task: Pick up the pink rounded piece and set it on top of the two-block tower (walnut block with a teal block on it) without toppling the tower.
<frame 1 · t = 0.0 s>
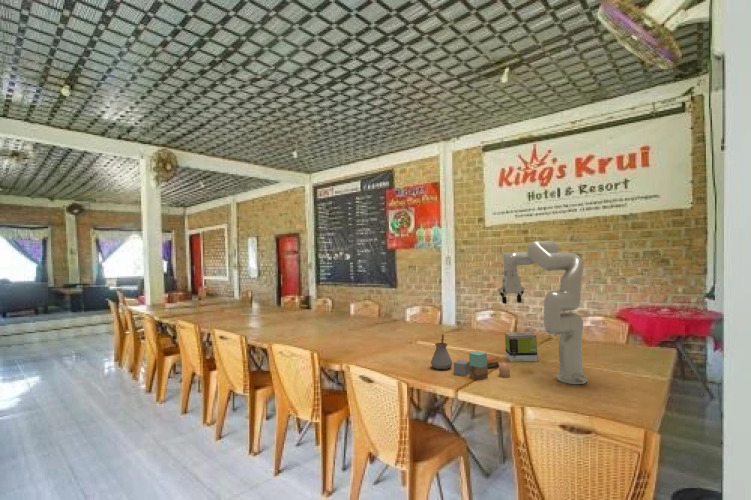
hand: (511, 302, 221), 31 cm above the table, fingers open, 9 cm apart
tower top: (478, 365, 185), point 6 cm above the table, touching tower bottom
pie: (485, 365, 206), on the table
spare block: (461, 374, 191), on the table
coffee pot: (442, 365, 207), on the table
tea box: (521, 360, 214), on the table
pink rounded piece: (504, 375, 186), on the table
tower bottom: (478, 377, 185), on the table, touching tower top
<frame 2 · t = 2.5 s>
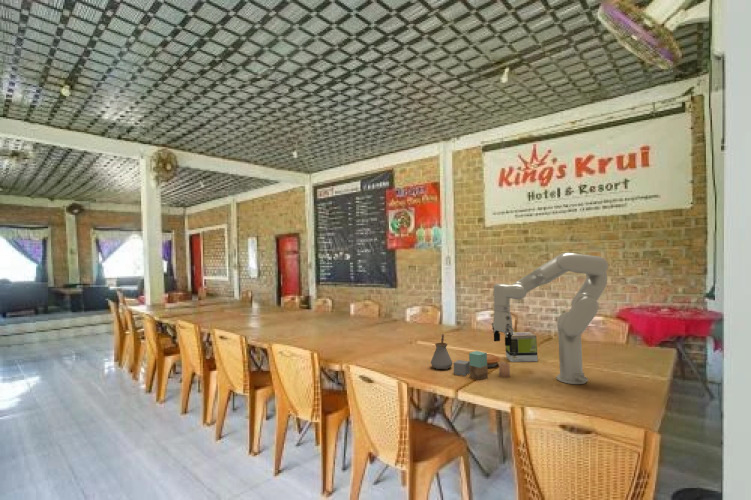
hand: (502, 343, 187), 16 cm above the table, fingers open, 9 cm apart
nothing on the table moved.
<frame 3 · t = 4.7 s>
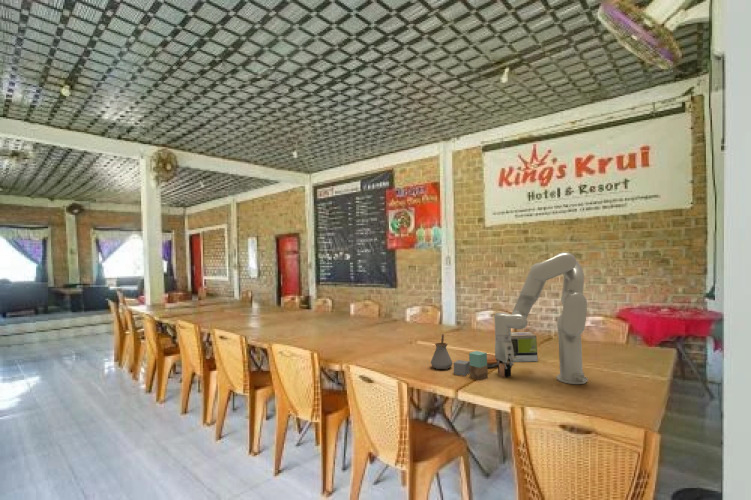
hand: (504, 374, 186), 1 cm above the table, fingers closed on pink rounded piece, 5 cm apart
pink rounded piece: (504, 375, 186), on the table, touching gripper
everything else where it was.
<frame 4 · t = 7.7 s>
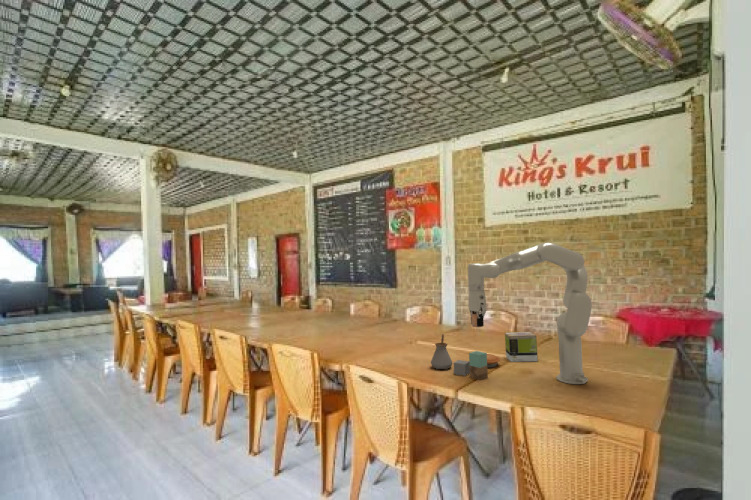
hand: (477, 324, 185), 26 cm above the table, fingers closed on pink rounded piece, 5 cm apart
pink rounded piece: (477, 326, 185), point 25 cm above the table, touching gripper
everything else where it was.
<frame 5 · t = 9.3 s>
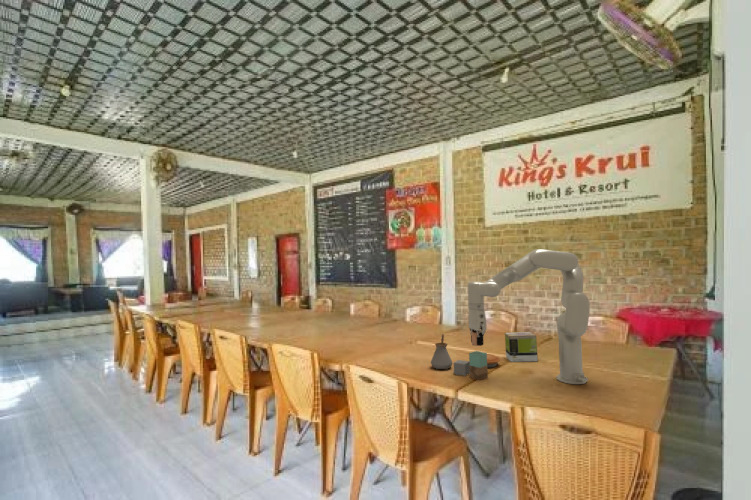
hand: (477, 343, 185), 17 cm above the table, fingers closed on pink rounded piece, 5 cm apart
pink rounded piece: (477, 344, 185), point 16 cm above the table, touching gripper
everything else where it was.
when the fingers open (14 cm above the table, at t = 10.7 s): pink rounded piece drops 1 cm, resting on tower top.
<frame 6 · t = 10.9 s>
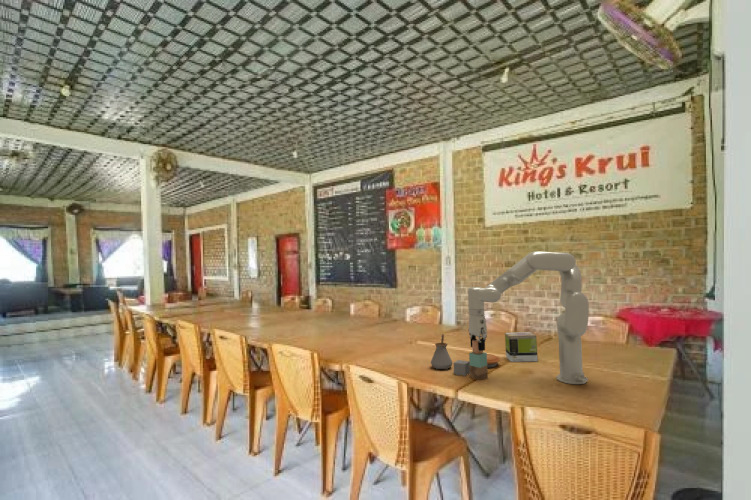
hand: (477, 348, 185), 14 cm above the table, fingers open, 7 cm apart
tower top: (478, 365, 185), point 6 cm above the table, touching pink rounded piece, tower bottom
pink rounded piece: (477, 353, 185), point 12 cm above the table, touching tower top
everything else where it was.
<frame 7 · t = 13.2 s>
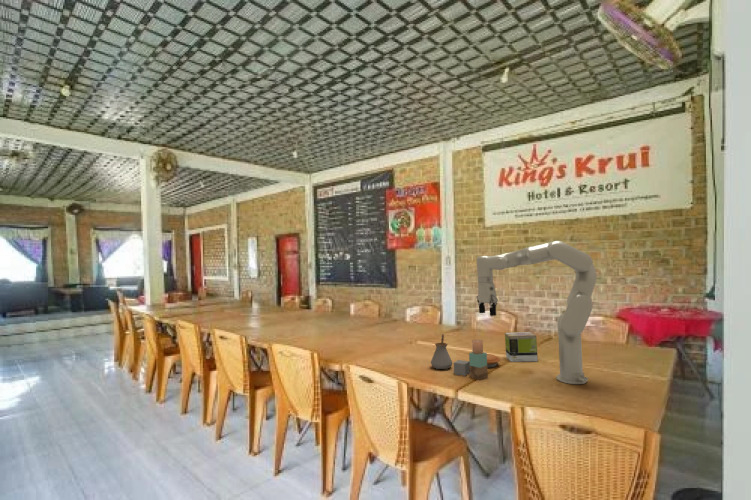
hand: (487, 314, 190), 30 cm above the table, fingers open, 9 cm apart
nothing on the table moved.
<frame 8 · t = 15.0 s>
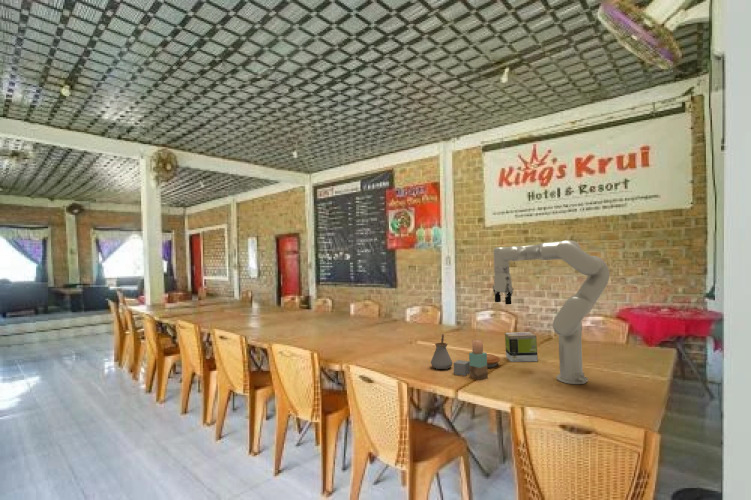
hand: (503, 303, 198), 34 cm above the table, fingers open, 9 cm apart
nothing on the table moved.
at the end: pink rounded piece 0.1 cm off-centre on the tower top, point 6.0 cm above the tower top's base; tower top 0.0 cm off-centre on the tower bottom, point 6.0 cm above the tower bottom's base; tower top tilted 0° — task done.
